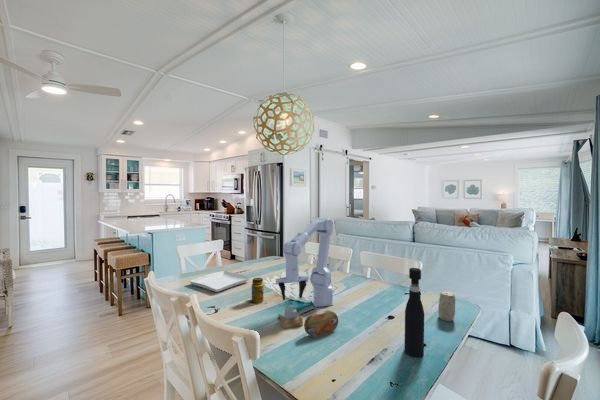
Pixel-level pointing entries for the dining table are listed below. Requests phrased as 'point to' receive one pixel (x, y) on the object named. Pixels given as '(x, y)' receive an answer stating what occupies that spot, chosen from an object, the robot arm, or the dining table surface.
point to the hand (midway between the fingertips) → (292, 298)
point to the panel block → (290, 312)
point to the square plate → (220, 280)
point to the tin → (320, 323)
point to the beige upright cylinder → (446, 306)
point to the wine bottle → (414, 317)
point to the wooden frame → (291, 321)
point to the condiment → (257, 292)
